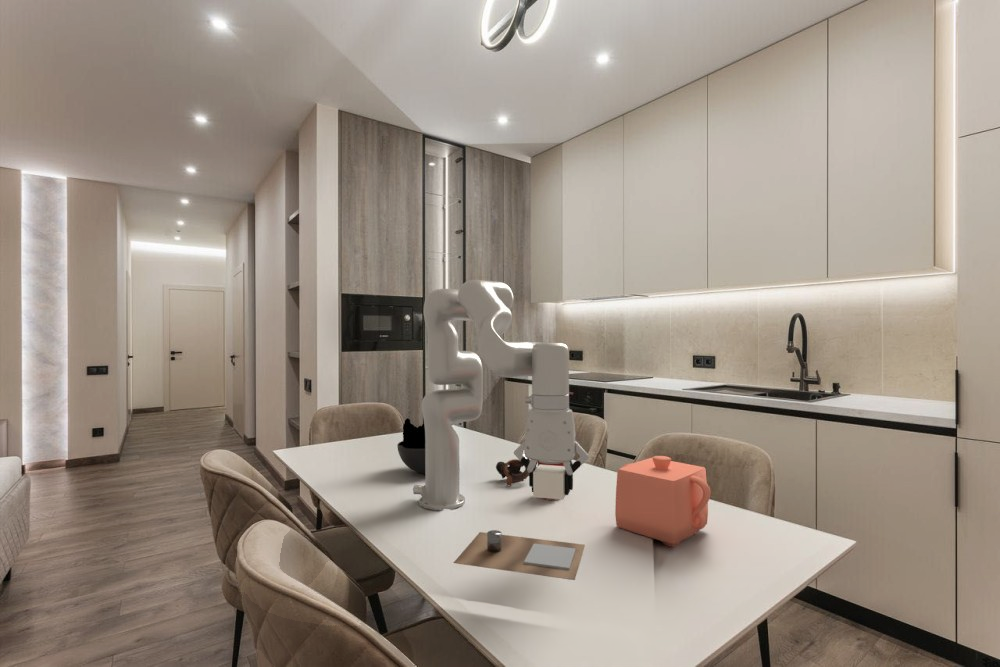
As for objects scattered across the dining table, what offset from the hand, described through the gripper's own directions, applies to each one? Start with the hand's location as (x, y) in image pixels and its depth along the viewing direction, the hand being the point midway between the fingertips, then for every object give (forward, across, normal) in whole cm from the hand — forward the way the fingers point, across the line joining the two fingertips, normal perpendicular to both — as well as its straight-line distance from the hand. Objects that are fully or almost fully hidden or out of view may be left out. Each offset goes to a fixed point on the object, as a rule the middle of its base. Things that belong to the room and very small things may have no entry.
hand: (551, 490), depth 99 cm
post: (+13, -12, 0) cm, 18 cm away
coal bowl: (+15, -54, +56) cm, 79 cm away
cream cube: (+1, 0, 0) cm, 1 cm away
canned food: (+15, -8, +43) cm, 46 cm away
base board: (+15, -6, 0) cm, 16 cm away
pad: (+13, 0, 0) cm, 13 cm away
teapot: (+15, +24, +27) cm, 39 cm away
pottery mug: (+15, -23, +54) cm, 60 cm away
